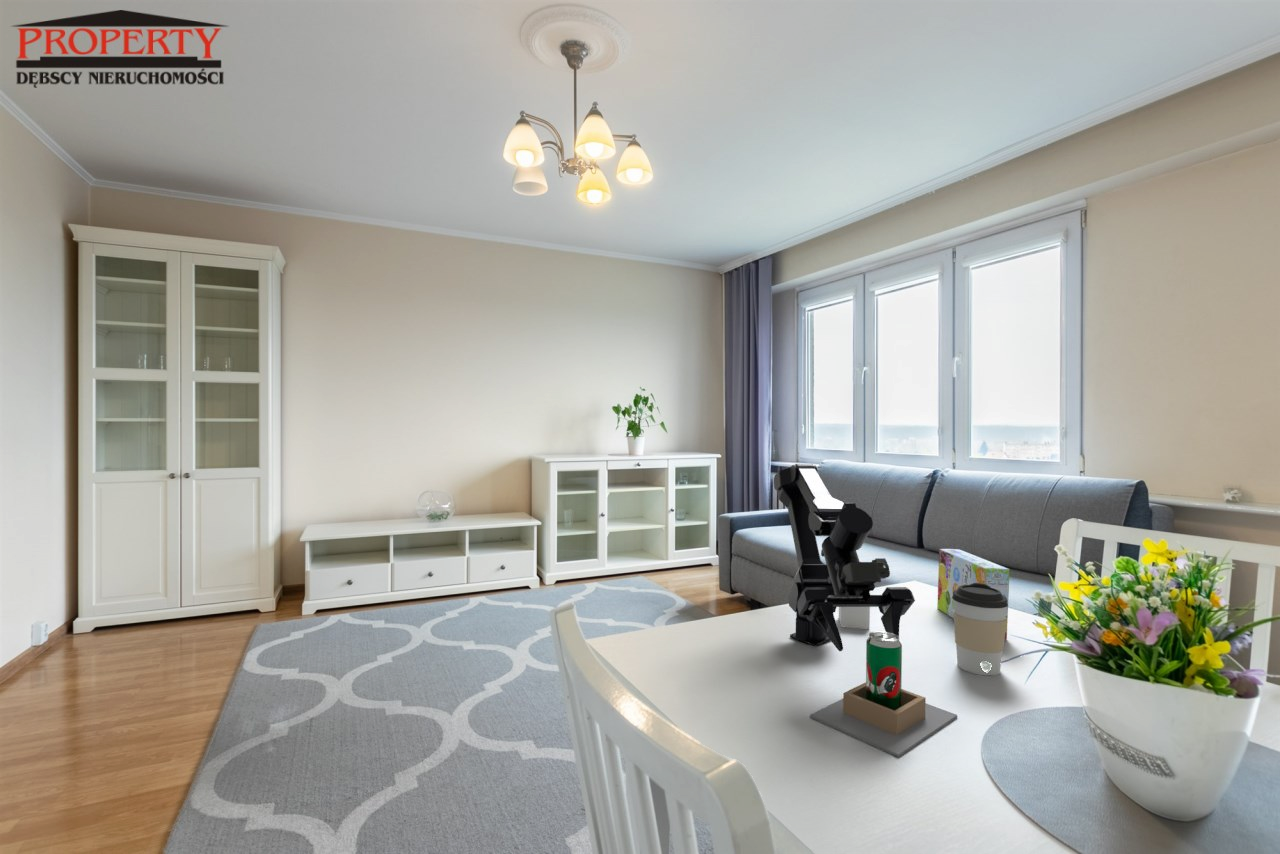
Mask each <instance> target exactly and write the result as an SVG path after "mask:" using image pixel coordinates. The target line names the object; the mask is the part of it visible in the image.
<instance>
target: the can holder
mask: <svg viewBox="0 0 1280 854" xmlns="http://www.w3.org/2000/svg"><path fill="white" fill-rule="evenodd" d="M842 695H843V698H841V699H839V700H837V701H835V702H833V703H831V704H829V705H826V706H825V707H822V708H821V709H819V710H817V711H814V712H813V713H811V714H810V715H809V718H811V719H812V720H815V721H817V722H820V723H821V724H823V725H826V726H828V727H830V728H832V729H835V730H836V731H837V730H838V731H839V732H840V733H844V734H846V735H848V736H850V737H852V738H855V739H857V740H858V741H861V742H863V743H865V744H868V745H870V746H872V747H875V748H876V749H879V750H881V751H883V752H886V753H888V754H890V755H891V756H894V757H896V758H901V756H903V755H904V754H906V753H908V752H909V751H910V750H912V749H913V748H915V747H916V746H918V745H919V744H920V743H922V742H923V741H925V740H927V739H928V738H930V737H931V736H932V735H934V734H935V733H936V732H938V731H940V730H941V729H942V728H944V727H946V726H947V725H948V724H950V723H951V722H953V721H955V720H956V719H957V718H958V714H957V713H953V712H951V711H947V710H944V709H942V708H940V707H936V706H934V705H931V704H929V703H926V701H927V700H926V696H925V697H924V696H922V695H919V694H916V693H914V692H911V691H909V690H906V689H903V688H901V707H900V708H898V709H897V710H895V711H894V710H892V709H889V708H887V707H884V706H881V705H879V704H876V703H874V702H871V701H869V700H866V681H865V682H863V683H862V684H859V685H856V686H855V687H853V688H851V689H849V690H847V691H845V692H843V694H842Z"/></svg>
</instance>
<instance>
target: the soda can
mask: <svg viewBox="0 0 1280 854" xmlns="http://www.w3.org/2000/svg"><path fill="white" fill-rule="evenodd" d="M865 648H866V651H865V652H866V653H865V655H866V656H865V660H866V661H865V663H866V664H865V665H866V666H865V682H866V700H869V701H871V702H874V703H876V704H879V705H881V706H884V707H887V708H889V709H892V710H894V711H895V710H897V709H898V708H900V707H901V689H902V679H903V677H902V676H903V675H902V672H903V671H902V670H903V669H902V668H903V667H902V665H903V664H902V663H903V662H902V661H903V660H902V659H903V645H902V642H901V641H900V636H899V637H898V636H897V635H895V634H892V633H888V632H886V631H882V630H881V631H871V632H869V634H868V638H867V639H866V647H865Z"/></svg>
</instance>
